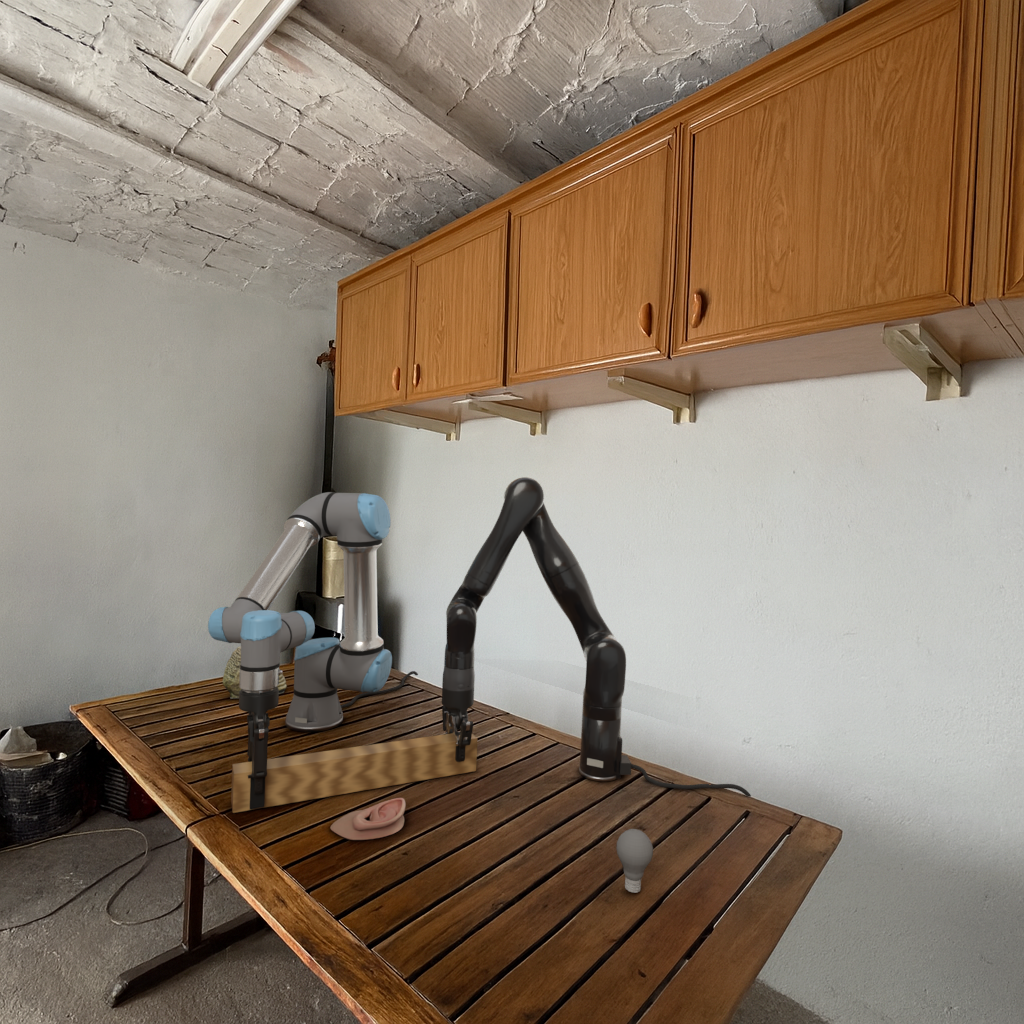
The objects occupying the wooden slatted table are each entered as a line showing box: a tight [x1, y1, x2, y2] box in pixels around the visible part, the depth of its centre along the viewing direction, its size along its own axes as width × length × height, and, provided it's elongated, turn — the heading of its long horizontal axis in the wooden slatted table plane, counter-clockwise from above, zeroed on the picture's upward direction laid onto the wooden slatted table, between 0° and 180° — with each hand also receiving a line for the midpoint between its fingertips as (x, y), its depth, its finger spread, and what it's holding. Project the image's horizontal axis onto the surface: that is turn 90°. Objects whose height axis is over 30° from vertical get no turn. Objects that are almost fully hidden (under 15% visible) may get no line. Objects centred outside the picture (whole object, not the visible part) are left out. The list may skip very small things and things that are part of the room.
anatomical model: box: [330, 797, 407, 841], centre depth 123 cm, size 13×4×12 cm
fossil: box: [222, 646, 288, 699], centre depth 198 cm, size 9×18×15 cm, turn 132°
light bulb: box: [615, 828, 654, 894], centre depth 106 cm, size 6×6×10 cm
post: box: [230, 733, 479, 814], centre depth 139 cm, size 53×5×8 cm, turn 117°
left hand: (255, 800), depth 129 cm, fingers closed on post, 5 cm apart
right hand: (455, 756), depth 149 cm, fingers closed on post, 5 cm apart
